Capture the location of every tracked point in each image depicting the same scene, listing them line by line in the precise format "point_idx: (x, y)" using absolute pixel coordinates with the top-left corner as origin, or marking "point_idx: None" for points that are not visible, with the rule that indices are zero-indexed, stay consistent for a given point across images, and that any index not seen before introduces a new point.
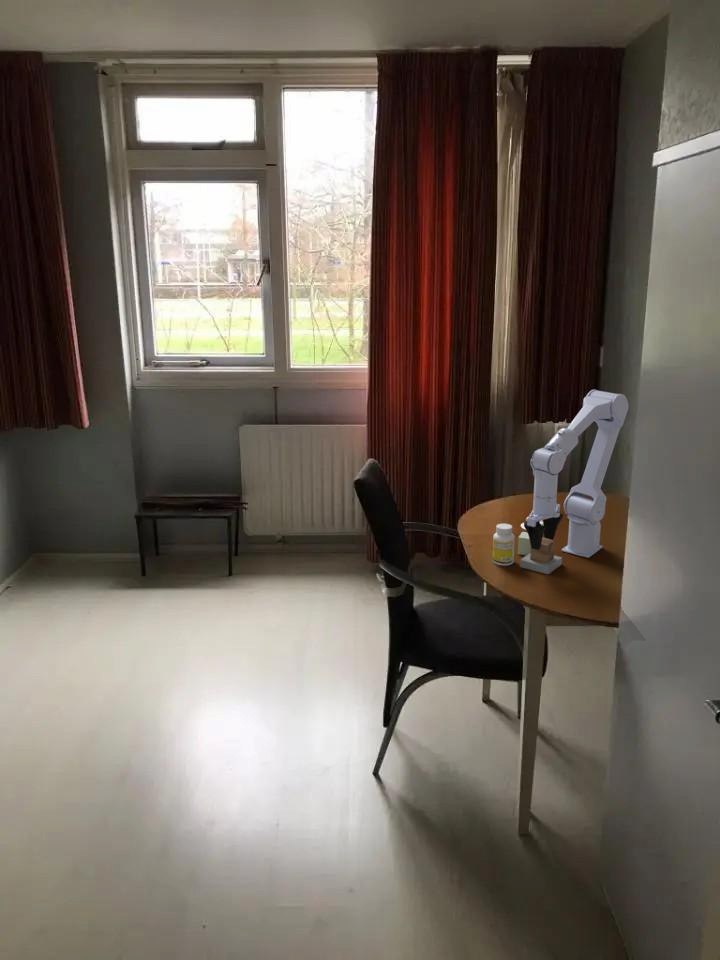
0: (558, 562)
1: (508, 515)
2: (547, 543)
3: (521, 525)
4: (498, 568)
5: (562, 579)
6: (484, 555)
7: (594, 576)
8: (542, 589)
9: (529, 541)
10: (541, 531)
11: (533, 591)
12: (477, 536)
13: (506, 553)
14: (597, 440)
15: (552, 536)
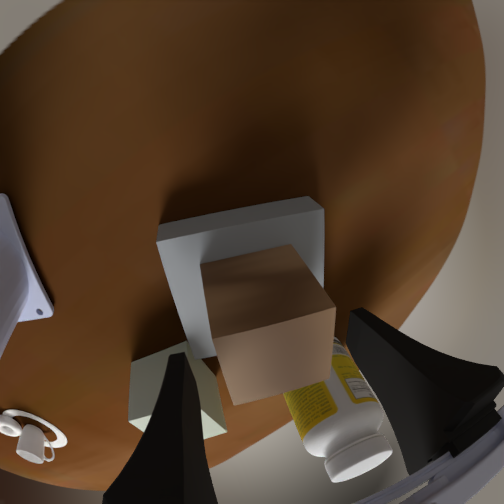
0: (199, 226)
1: (59, 467)
2: (301, 328)
3: (61, 445)
4: None
5: (314, 117)
6: None
7: (166, 23)
8: (430, 137)
9: (203, 403)
10: (489, 365)
11: (450, 155)
12: None
13: (354, 367)
14: None
15: (185, 376)
